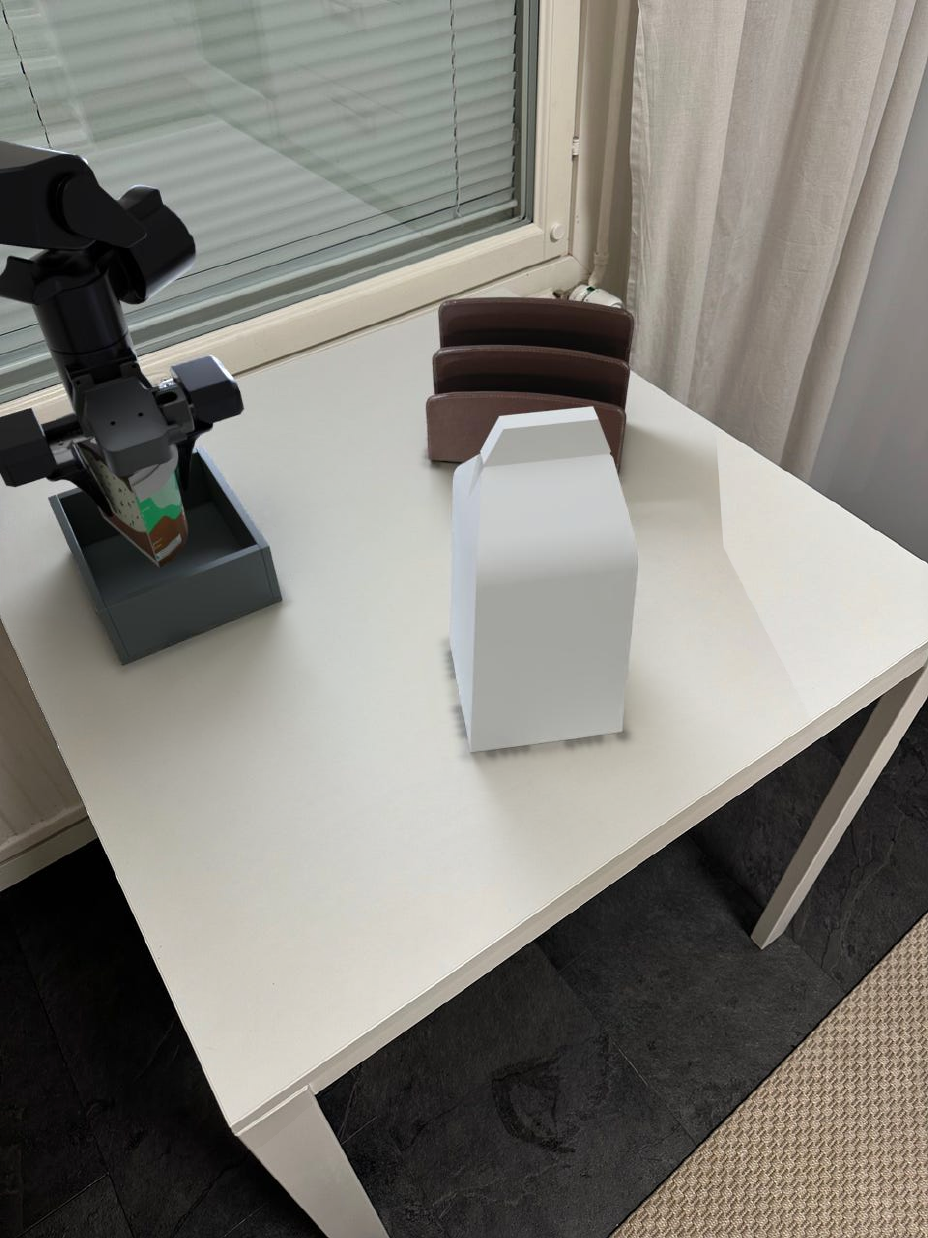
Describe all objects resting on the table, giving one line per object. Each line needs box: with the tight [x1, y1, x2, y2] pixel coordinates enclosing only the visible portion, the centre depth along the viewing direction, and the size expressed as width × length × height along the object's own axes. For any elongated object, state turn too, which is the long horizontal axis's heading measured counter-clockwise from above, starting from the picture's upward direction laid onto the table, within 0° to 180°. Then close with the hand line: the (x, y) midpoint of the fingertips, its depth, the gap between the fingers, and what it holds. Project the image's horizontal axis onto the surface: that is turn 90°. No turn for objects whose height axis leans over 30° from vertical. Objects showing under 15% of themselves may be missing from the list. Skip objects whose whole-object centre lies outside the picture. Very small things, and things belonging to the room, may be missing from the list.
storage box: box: [47, 445, 283, 666], centre depth 80 cm, size 15×17×7 cm
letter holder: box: [425, 296, 635, 475], centre depth 90 cm, size 10×20×14 cm, turn 82°
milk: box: [449, 406, 639, 754], centre depth 63 cm, size 12×12×26 cm
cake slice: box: [55, 411, 188, 568], centre depth 74 cm, size 12×6×10 cm, turn 45°
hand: (147, 501), depth 76 cm, fingers closed on cake slice, 6 cm apart
